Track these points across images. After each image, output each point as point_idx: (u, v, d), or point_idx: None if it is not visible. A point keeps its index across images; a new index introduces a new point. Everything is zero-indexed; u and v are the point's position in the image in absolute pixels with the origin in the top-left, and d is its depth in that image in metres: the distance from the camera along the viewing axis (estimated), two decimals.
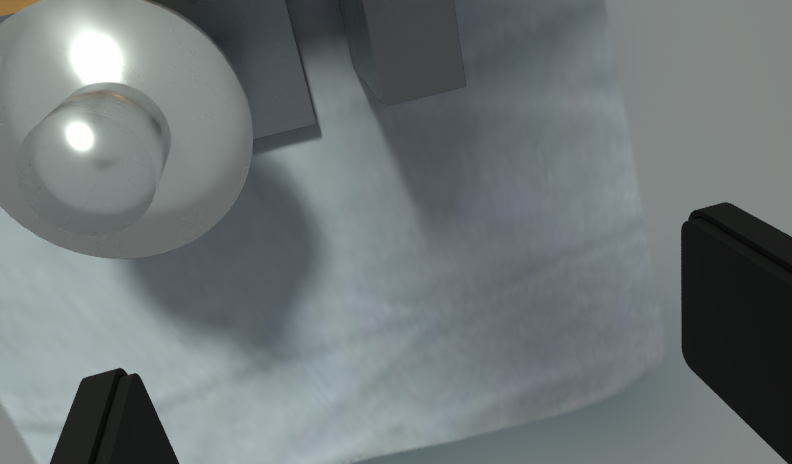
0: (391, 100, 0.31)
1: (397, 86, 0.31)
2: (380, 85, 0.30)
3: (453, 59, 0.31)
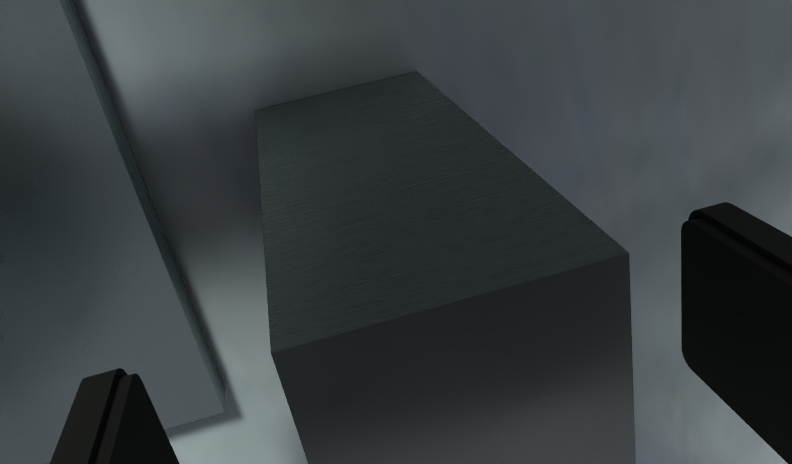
0: None
1: None
2: None
3: None
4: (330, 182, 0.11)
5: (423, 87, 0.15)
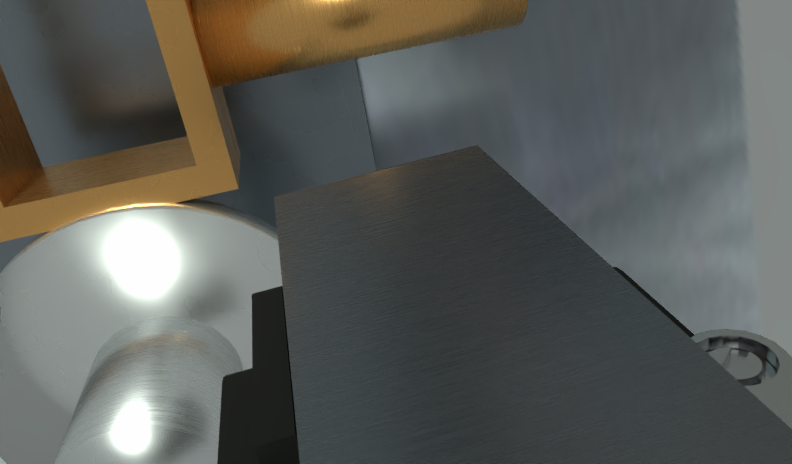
0: None
1: None
2: None
3: None
4: (393, 352, 0.07)
5: (493, 175, 0.11)
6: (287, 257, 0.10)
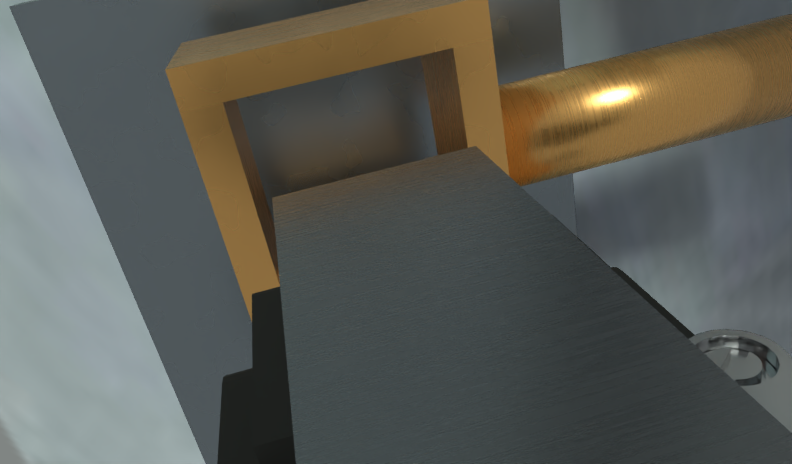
0: None
1: None
2: None
3: None
4: (390, 353, 0.07)
5: (491, 175, 0.11)
6: (285, 258, 0.10)
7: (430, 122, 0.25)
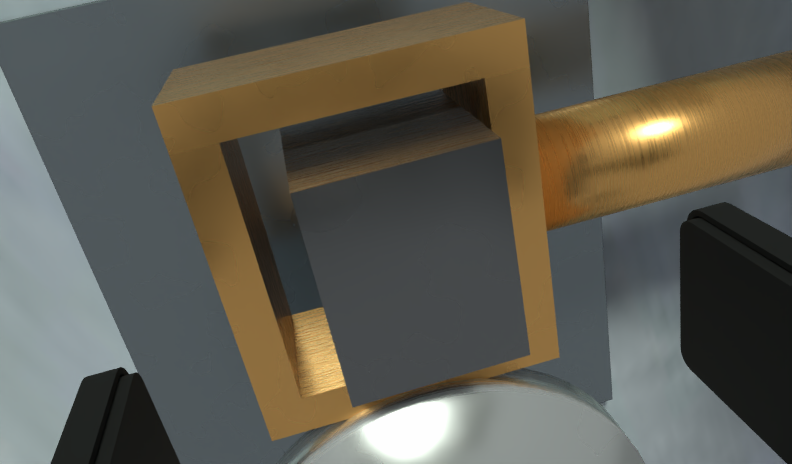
0: (368, 394, 0.14)
1: (380, 367, 0.14)
2: (343, 369, 0.14)
3: (504, 307, 0.14)
4: (327, 119, 0.16)
5: None
6: None
7: None
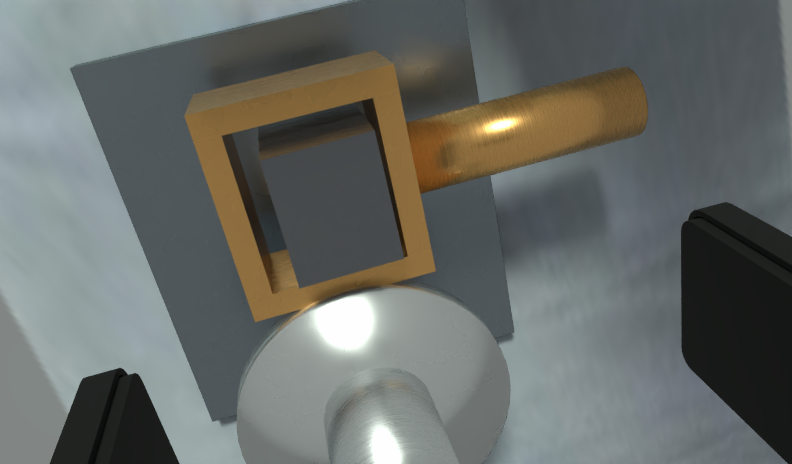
0: (308, 280, 0.24)
1: (314, 263, 0.24)
2: (292, 264, 0.24)
3: (385, 228, 0.24)
4: (286, 123, 0.26)
5: None
6: None
7: None
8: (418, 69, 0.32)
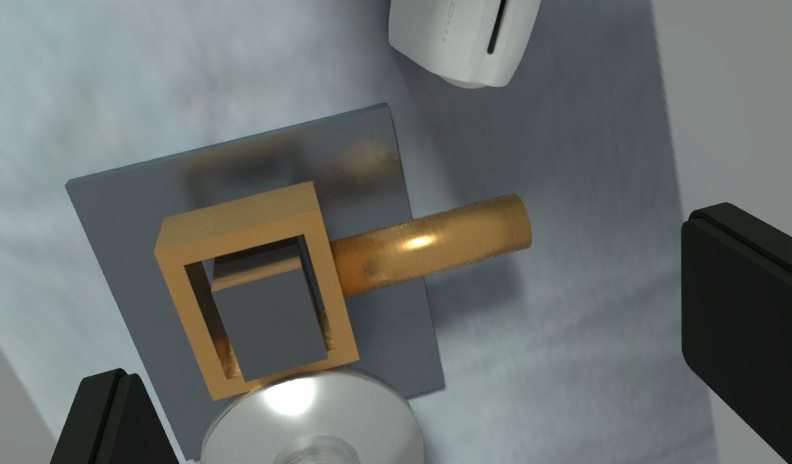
0: (252, 376, 0.31)
1: (256, 364, 0.31)
2: (239, 365, 0.30)
3: (312, 337, 0.31)
4: None
5: None
6: None
7: None
8: (355, 179, 0.39)
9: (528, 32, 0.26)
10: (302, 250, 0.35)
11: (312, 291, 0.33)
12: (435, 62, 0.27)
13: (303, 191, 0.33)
